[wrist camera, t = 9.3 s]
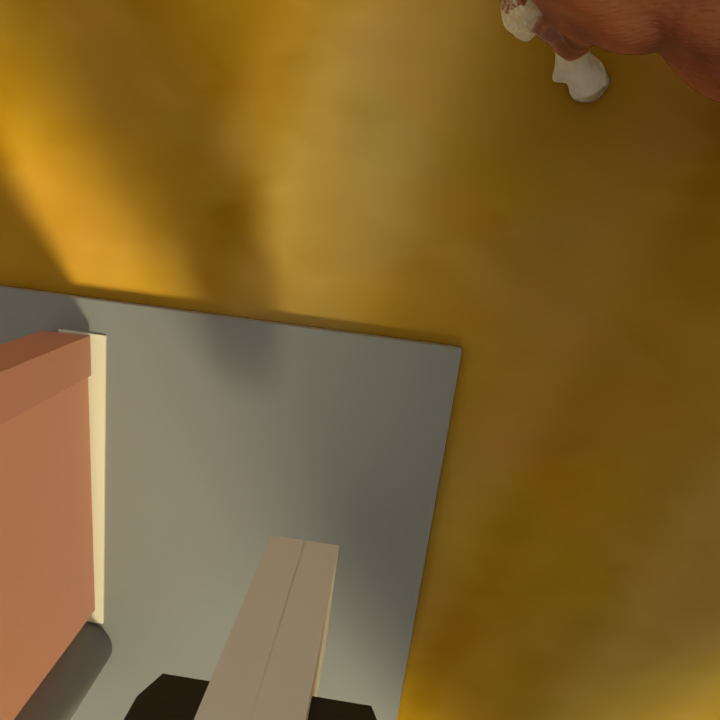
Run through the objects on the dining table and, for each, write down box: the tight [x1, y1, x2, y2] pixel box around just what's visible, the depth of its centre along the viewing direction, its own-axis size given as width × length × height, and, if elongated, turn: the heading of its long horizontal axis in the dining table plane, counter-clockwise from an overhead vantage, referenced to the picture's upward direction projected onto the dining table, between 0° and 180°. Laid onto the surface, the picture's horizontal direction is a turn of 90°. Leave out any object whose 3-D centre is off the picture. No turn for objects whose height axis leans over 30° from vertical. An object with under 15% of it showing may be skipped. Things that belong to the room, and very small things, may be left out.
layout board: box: [0, 285, 462, 720], centre depth 18 cm, size 22×16×1 cm
